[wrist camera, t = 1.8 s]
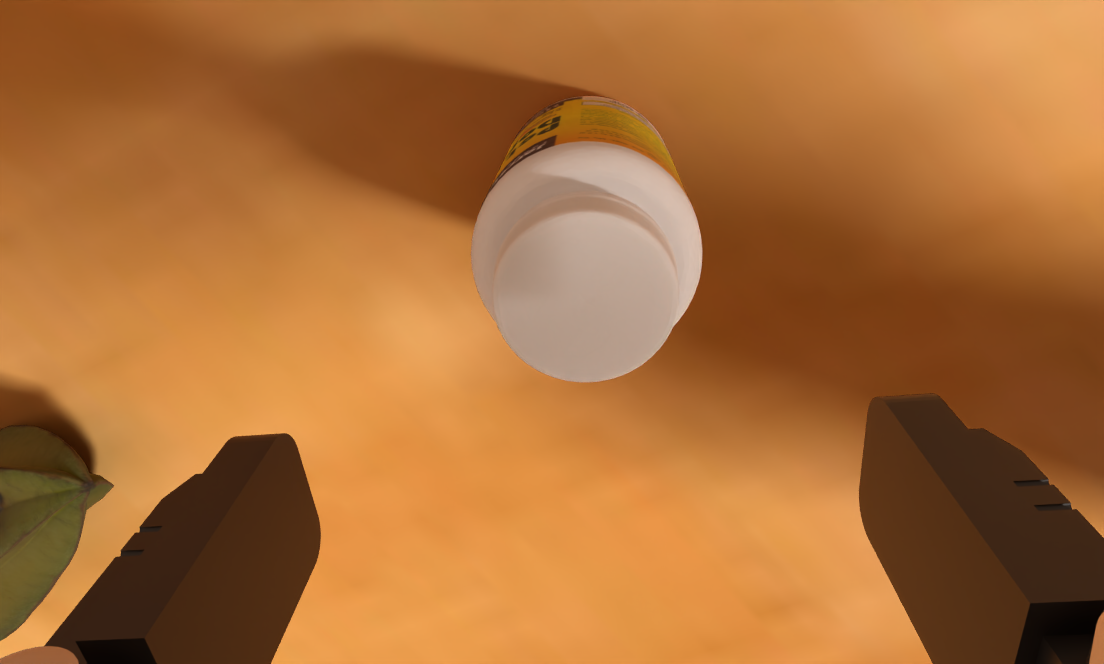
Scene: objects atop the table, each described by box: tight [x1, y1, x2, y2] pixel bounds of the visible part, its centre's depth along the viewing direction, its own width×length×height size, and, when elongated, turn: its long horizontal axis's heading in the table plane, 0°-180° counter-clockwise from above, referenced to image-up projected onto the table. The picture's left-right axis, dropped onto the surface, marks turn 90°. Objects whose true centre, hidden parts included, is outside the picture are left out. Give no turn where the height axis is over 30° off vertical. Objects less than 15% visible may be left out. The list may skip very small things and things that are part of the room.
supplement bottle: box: [471, 96, 702, 382], centre depth 20 cm, size 6×6×10 cm
